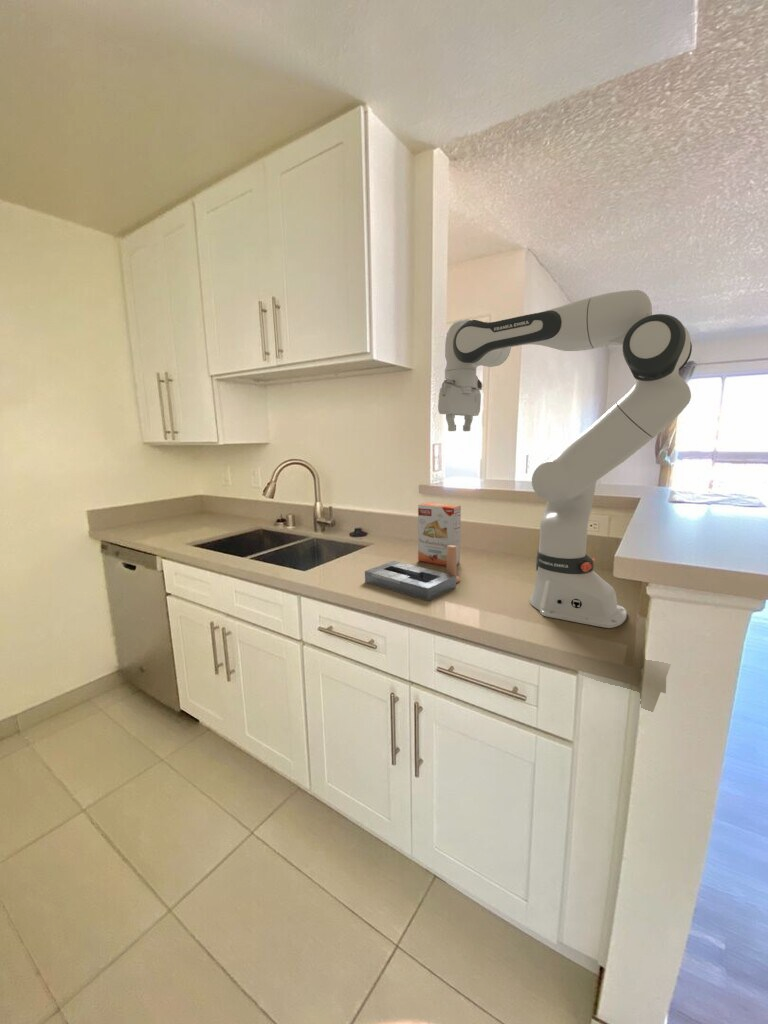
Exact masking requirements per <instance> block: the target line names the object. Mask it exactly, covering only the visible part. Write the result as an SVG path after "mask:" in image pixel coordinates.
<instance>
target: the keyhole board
mask: <svg viewBox="0 0 768 1024" xmlns="http://www.w3.org/2000/svg"><path fill="white" fill-rule="evenodd" d="M364 582H365V584H366V583H367V584H370V585H372V586H376V587H379V588H383V589H385V590H386V589H388V590H390V591H394V592H397V593H399V594H403V595H407V596H409V597H414V598H417V599H419V600H422V601H427V602H429V601H431V600H434V599H435V598H438V597H439V596H442V595H443V594H445V593H447V592H449V591H451V590H452V589H455V588H456V585H457V583H456V575H452V574H448V573H447V572H442V571H439V570H434V569H430V568H426V567H421V566H417V565H413V564H411V563H410V564H409V563H404V562H401V561H397V560H393V561H389V562H387V563H384V564H381V565H379V566H376V567H372V568H370V569H366V570H365V571H364Z"/></svg>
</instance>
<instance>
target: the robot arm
mask: <svg viewBox="0 0 768 1024" xmlns="http://www.w3.org/2000/svg"><path fill="white" fill-rule="evenodd" d="M444 344H445V345H444V357H445V361H446V362H445V364H446V366H445V369H444V380H443V382H442V384H441V386H440V388H439V393H438V403H437V409H438V413H439V414H440V415H445V420H446V422H447V431H448V432H456V430H457V425H456V422H455V418H456V416H459V417H460V416H463V418H464V424H463V425H462V431H463V432H470V431H471V429H472V428H471V425H472V422H473V420H474V417H477V416H479V415H480V412H481V404H482V403H481V402H482V394H481V393H482V392H481V391H482V390H483V382H482V380H480V378H478V375H477V368H478V367H479V366H480V367H481V366H482V367H489V368H493V367H498V366H500V365H502V364H503V363H504V362H505V361H506V360H507V359H508V357H510V353H511V349H512V348H513V347H519V346H526V345H537V346H543V347H547V348H551V349H554V350H555V349H556V350H559V351H562V352H580V351H582V352H583V351H588V350H594V349H598V348H603V347H607V346H621V347H622V355H623V358H624V361H625V363H626V364H627V366H628V368H629V369H630V372H631V374H632V376H633V378H634V379H635V383H634V384H633V386H632V387H631V388H630V390H629V391H628V392H627V393H625V395H623V396H622V397H621V398H620V399H619V400H618V401H617V402H615V403H614V404H613V405H612V406H611V407H610V408H609V409H608V410H607V411H606V412H604V413H603V414H602V415H601V416H600V417H598V418H597V419H596V420H595V421H594V422H593V423H592V424H591V425H590V426H588V427H587V428H586V429H585V430H584V431H582V432H581V433H579V434H578V435H576V437H574V438H573V439H571V440H570V441H569V442H568V443H566V444H565V445H563V446H562V447H561V448H559V449H558V450H557V451H555V452H554V453H553V454H552V455H551V456H550V457H548V458H547V459H546V460H545V461H543V462H541V463H540V464H539V465H538V466H537V467H536V469H535V470H534V472H533V473H532V476H531V486H532V489H533V492H534V493H535V495H536V496H538V498H540V499H542V500H543V501H546V505H545V509H544V513H543V515H542V517H541V519H540V523H539V524H540V525H539V545H538V550H537V552H536V559H535V560H536V561H535V567H536V568H535V569H536V577H535V583H534V587H533V590H532V593H531V597H530V599H529V603H530V605H531V606H532V607H533V608H535V609H537V610H538V611H539V613H540V614H541V615H542V616H544V617H548V618H553V619H557V620H563V621H569V622H574V623H579V624H585V625H589V626H594V627H601V628H605V629H613V628H616V627H619V626H621V625H622V624H623V623H624V622H625V621H626V620H627V615H628V614H627V609H626V608H625V607H623V606H622V605H619V604H618V599H617V593H616V590H615V588H614V587H613V586H612V585H611V584H609V583H608V582H607V581H606V580H604V578H602V577H601V576H600V575H598V573H596V572H595V571H594V568H595V566H594V564H595V560H596V558H595V557H593V558H591V557H590V556H589V555H587V541H588V540H587V538H588V529H589V522H590V520H589V519H590V515H591V512H592V511H591V510H592V507H593V502H594V497H595V492H596V488H597V487H596V486H597V482H598V481H599V480H600V479H601V478H603V477H604V476H606V475H607V474H608V473H609V472H611V471H612V470H615V468H616V467H618V466H620V465H621V464H622V463H624V462H626V460H628V459H629V458H630V457H631V456H633V455H634V454H635V453H636V452H637V451H639V450H640V449H642V448H643V447H644V446H645V445H646V444H648V443H649V442H650V441H651V440H653V439H654V438H656V436H658V435H659V434H660V433H661V432H662V431H664V430H665V429H666V428H668V426H669V425H670V424H672V423H673V421H674V420H675V419H677V417H679V415H680V414H681V413H682V412H683V411H684V410H685V408H686V407H687V406H688V405H689V404H690V401H691V399H692V393H691V389H690V387H689V384H688V383H687V382H686V381H685V380H684V378H682V377H681V376H680V374H679V371H681V370H682V369H683V368H684V367H685V366H686V364H687V363H688V361H689V359H690V358H691V354H692V352H693V351H692V350H693V349H692V348H693V345H692V341H691V335H690V333H689V331H688V329H687V328H686V326H685V325H684V324H683V323H682V322H681V321H680V320H679V319H678V318H676V317H675V316H674V315H673V316H672V315H670V314H664V313H657V314H655V313H654V314H653V307H652V303H651V300H650V298H649V296H648V294H647V293H645V292H644V291H643V290H639V289H633V290H632V289H630V290H621V291H613V292H607V293H604V294H599V295H594V296H591V297H588V298H587V297H586V298H584V299H580V300H577V301H573V302H571V303H568V304H564V305H561V306H557V307H554V308H550V309H547V310H543V311H540V312H535V313H534V312H533V313H529V314H524V315H520V316H516V317H512V318H511V317H510V318H505V319H501V320H497V321H492V322H491V321H490V322H488V321H482V320H479V319H470V318H467V319H466V318H465V319H464V318H463V319H460V320H456V321H453V322H452V323H451V324H450V325H449V326H448V328H447V330H446V334H445V343H444Z"/></svg>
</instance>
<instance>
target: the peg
mask: <svg viewBox="0 0 768 1024" xmlns="http://www.w3.org/2000/svg"><path fill="white" fill-rule="evenodd" d="M457 566H458V564H457V546H455V545H448V546H447V566H446V573H448V574H452V575H456V584H459V583H460V579H461V578H460V576H458V575H457V572H458V571H457V570H458V569H457Z"/></svg>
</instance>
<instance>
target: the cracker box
mask: <svg viewBox="0 0 768 1024" xmlns="http://www.w3.org/2000/svg"><path fill="white" fill-rule="evenodd" d="M461 507H462V506H461V505H456V504H454V505H453V504H445V503H435V502H434V503H433V502H423V503H420V504H418V506H417V514H418V515H417V516H418V517H417V518H418V520H417V525H418V527H417V532H418V533H417V539H418V540H417V546H418V547H417V549H418V550H417V555H418V558H417V560H418V561H419V562H425V563H428V564H429V563H430V564H434V565H439V566H440V565H441V566H446V567H447V546H448V545H455V546H457V565H458V564H460V563H461V562H460V561H461V519H462V518H461V511H462V509H461Z"/></svg>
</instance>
